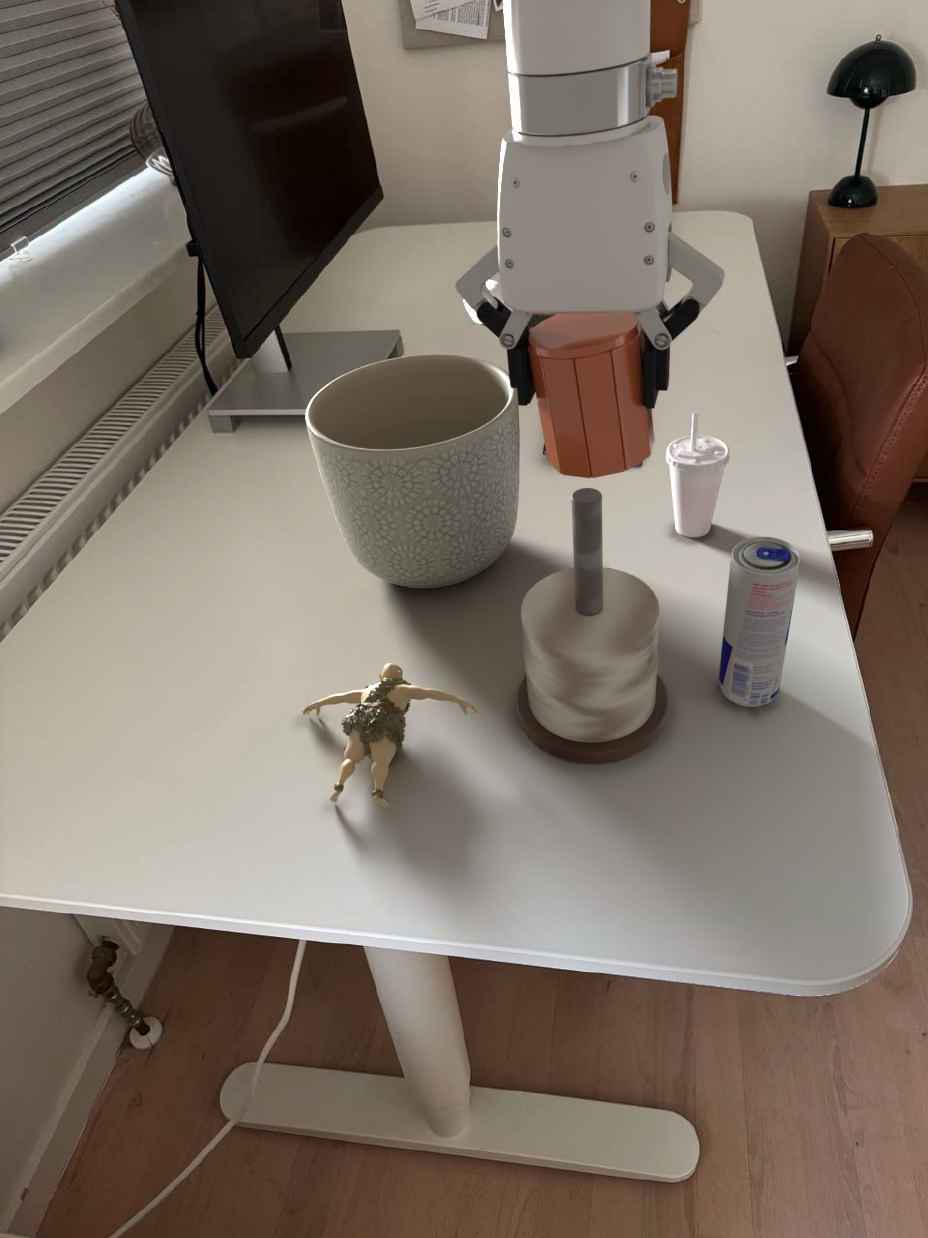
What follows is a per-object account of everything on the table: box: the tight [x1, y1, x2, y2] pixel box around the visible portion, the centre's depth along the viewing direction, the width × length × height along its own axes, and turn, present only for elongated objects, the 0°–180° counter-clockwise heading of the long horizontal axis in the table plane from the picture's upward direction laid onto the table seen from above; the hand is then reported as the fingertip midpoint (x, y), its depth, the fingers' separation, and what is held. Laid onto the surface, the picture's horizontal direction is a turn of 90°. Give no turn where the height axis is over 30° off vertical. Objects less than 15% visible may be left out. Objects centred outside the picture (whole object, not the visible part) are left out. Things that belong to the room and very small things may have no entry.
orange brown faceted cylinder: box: [528, 313, 655, 479], centre depth 60 cm, size 7×8×9 cm
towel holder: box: [516, 487, 669, 765], centre depth 72 cm, size 13×13×22 cm
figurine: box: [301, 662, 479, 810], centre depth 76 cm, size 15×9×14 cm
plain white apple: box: [463, 279, 506, 325], centre depth 147 cm, size 7×7×8 cm
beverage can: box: [718, 536, 801, 708], centre depth 73 cm, size 5×5×15 cm
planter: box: [305, 353, 521, 589], centre depth 93 cm, size 21×21×19 cm
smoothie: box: [665, 410, 731, 538], centre depth 93 cm, size 6×6×14 cm
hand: (588, 396), depth 60 cm, fingers closed on orange brown faceted cylinder, 7 cm apart
